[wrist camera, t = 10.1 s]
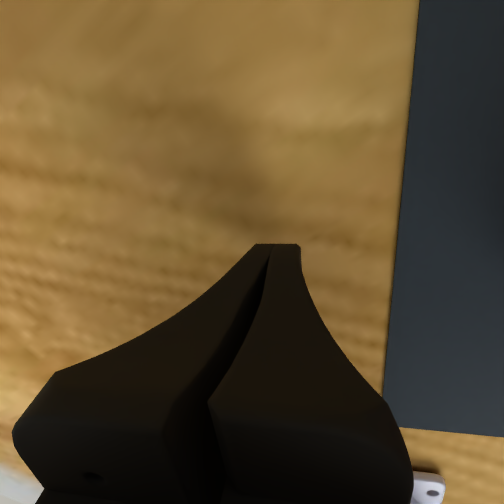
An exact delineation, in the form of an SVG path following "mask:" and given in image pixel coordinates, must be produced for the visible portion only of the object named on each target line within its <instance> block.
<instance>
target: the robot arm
mask: <svg viewBox="0 0 504 504" xmlns="http://www.w3.org/2000/svg"><path fill="white" fill-rule="evenodd" d="M12 437H13V443H14V447H15V448H16V450H17V452H18V454H19V455H20V457H21V458H22V459H23V461H24V462H25V463H26V465H27V466H28V467H29V469H30V470H31V471H32V473H33V474H34V475H35V477H36V478H37V479H38V481H39V482H40V483H41V485H42V486H43V487H44V490H43V492H42V493H41V495H40V497H39V498H38V500H37V502H36V503H35V504H441V503H442V500H443V496H444V493H445V489H446V485H445V481H444V478H443V477H442V476H440V475H438V474H434V473H426V472H418V471H413V469H412V465H411V462H410V458H409V455H408V451H407V448H406V445H405V442H404V440H403V437H402V435H401V432H400V430H399V427H398V425H397V423H396V420H395V418H394V416H393V414H392V412H391V409H390V407H389V405H388V403H387V402H386V401H385V400H384V399H383V398H382V397H381V396H380V395H379V394H378V393H377V392H376V391H375V390H374V389H373V388H372V387H371V385H370V384H369V383H368V382H367V381H366V380H365V379H364V378H363V377H362V375H361V374H360V373H359V372H358V371H357V369H356V368H355V367H354V366H353V365H352V364H351V362H350V361H349V360H348V358H347V357H346V355H345V354H344V353H343V351H342V350H341V349H340V347H339V346H338V344H337V343H336V342H335V340H334V339H333V337H332V336H331V334H330V332H329V331H328V329H327V328H326V326H325V324H324V322H323V321H322V319H321V317H320V315H319V313H318V311H317V309H316V307H315V305H314V303H313V301H312V298H311V296H310V294H309V291H308V288H307V286H306V283H305V279H304V276H303V273H302V266H301V247H300V246H298V245H297V244H255V245H254V246H253V247H252V248H251V249H250V250H249V251H248V252H247V253H246V254H245V255H244V256H243V257H242V258H241V259H240V260H239V261H238V262H237V263H236V264H235V265H234V266H233V267H232V268H231V269H230V270H229V271H228V272H227V273H226V274H225V275H224V276H223V277H222V278H221V279H220V280H219V281H218V282H216V283H215V284H214V285H213V286H212V287H211V288H209V289H208V290H207V291H206V292H205V293H204V294H202V295H201V296H200V297H199V298H197V299H196V300H195V301H194V302H192V303H191V304H190V305H188V306H187V307H185V308H184V309H182V310H181V311H180V312H178V313H177V314H175V315H174V316H172V317H171V318H169V319H167V320H166V321H164V322H162V323H161V324H159V325H157V326H156V327H154V328H152V329H150V330H149V331H147V332H145V333H144V334H142V335H140V336H138V337H136V338H134V339H132V340H130V341H128V342H126V343H124V344H122V345H120V346H118V347H116V348H114V349H112V350H109V351H107V352H105V353H103V354H100V355H98V356H96V357H93V358H91V359H88V360H85V361H83V362H80V363H78V364H75V365H73V366H70V367H68V368H65V369H62V370H60V371H57V372H55V373H54V374H53V375H52V377H51V378H50V379H49V381H48V382H47V383H46V384H45V386H44V387H43V388H42V390H41V391H40V392H39V394H38V395H37V396H36V397H35V399H34V400H33V401H32V403H31V404H30V405H29V407H28V408H27V409H26V410H25V412H24V413H23V414H22V416H21V417H20V418H19V420H18V421H17V422H16V423H15V425H14V428H13V430H12Z"/></svg>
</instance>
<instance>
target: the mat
mask: <svg viewBox="0 0 504 504" xmlns="http://www.w3.org/2000/svg"><path fill="white" fill-rule="evenodd" d="M382 398H383V399H384V400H385V401H386V402H387V403H388V405H389V407H390V409H391V412H392V414H393V416H394V418H395V420H396V423H397V425H398V427H404V428H414V429H424V430H434V431H444V432H454V433H464V434H475V435H485V436H495V437H504V0H420V4H419V15H418V26H417V36H416V47H415V57H414V68H413V79H412V89H411V100H410V110H409V121H408V132H407V142H406V153H405V163H404V174H403V185H402V195H401V206H400V216H399V227H398V238H397V248H396V259H395V269H394V280H393V291H392V301H391V312H390V322H389V333H388V344H387V354H386V365H385V375H384V386H383V397H382Z"/></svg>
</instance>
